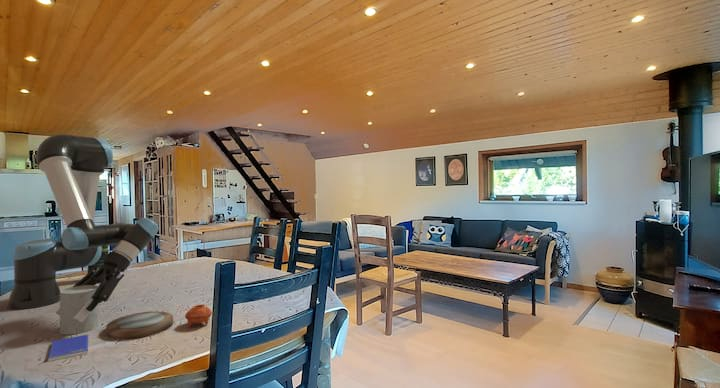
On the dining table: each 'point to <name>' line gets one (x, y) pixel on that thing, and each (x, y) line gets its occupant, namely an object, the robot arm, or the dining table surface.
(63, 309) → the grey cylinder
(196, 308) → the pot
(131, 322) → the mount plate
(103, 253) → the coffee jar
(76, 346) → the blue flat block
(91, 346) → the dining table surface
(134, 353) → the dining table surface
